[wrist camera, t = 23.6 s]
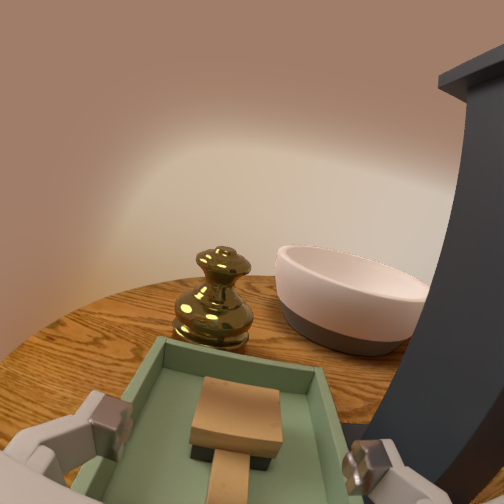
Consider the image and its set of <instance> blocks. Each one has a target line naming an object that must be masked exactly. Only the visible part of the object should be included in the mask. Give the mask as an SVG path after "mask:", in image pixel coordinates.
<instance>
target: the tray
mask: <svg viewBox="0 0 504 504" xmlns="http://www.w3.org/2000/svg"><path fill="white" fill-rule="evenodd" d="M205 376H207V377H212V378H216V379H221V380H226V381H231V382H236V383H241V384H246V385H252V386H257V387H263V388H269V389H276V390H279V394H280V407H281V421H282V434H283V443H282V446H281V448H280V450H279V452H278V455H277V457H276V459H274V458H272V460H271V462H270V464H269V466H268V469H267V471H260V470H252V469H250V472H249V494H248V504H364V502H363V498H362V495H361V496H348V493H347V489H346V485H345V483H346V481H347V478H346V477H345V476H344V475H343V473H342V461H343V458H344V457H345V455H346V453H348V452H349V450H348V447H347V444H346V440H345V437H344V434H343V431H342V427H341V424H340V421H339V418H338V415H337V411H336V408H335V405H334V402H333V399H332V396H331V392H330V389H329V386H328V383H327V380H326V377H325V374H324V371H323V368H321V367H313V366H306V365H299V364H293V363H286V362H280V361H274V360H268V359H262V358H257V357H251V356H246V355H241V354H236V353H231V352H226V351H221V350H217V349H212V348H208V347H203V346H199V345H194V344H190V343H186V342H182V341H178V340H174V339H170V338H168V339H167V338H166V337H162V336H158V337H157V339H156V340H155V342H154V344H153V345H152V347H151V349H150V350H149V352H148V354H147V355H146V357H145V359H144V360H143V362H142V363H141V365H140V367H139V368H138V370H137V372H136V373H135V375H134V377H133V378H132V380H131V382H130V384H129V385H128V387H127V389H126V390H125V392H124V394H123V395H122V397H121V400H124V401H127V402H129V403H132V404H133V412H132V414H131V417H132V418H133V429H132V433H131V437H130V439H129V441H128V442H127V443H125V444H124V452H123V454H122V457H121V459H120V461H119V463H118V462H115V461H112V460H109V459H106V458H103V457H101V456H98V455H97V456H96V457H95V458H93V459H91V460H89V461H88V462H86V463H84V464H83V466H82V468H81V469H80V471H79V473H78V475H77V477H76V479H75V480H74V482H73V484H72V486H71V488H70V489H71V490H73V491H76V492H78V493H80V494H83V495H85V496H87V497H90V498H92V499H95V500H97V501H100V502H102V503H105V504H205V499H206V493H207V487H208V481H209V475H210V469H211V464H212V463H210V462H205V461H200V460H196V459H191V458H190V454H191V448H192V445H191V444H189V437H190V431H191V425H192V421H193V418H194V414H195V410H196V407H197V403H198V400H199V396H200V392H201V389H202V385H203V382H204V378H205Z"/></svg>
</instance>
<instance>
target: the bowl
mask: <svg viewBox="0 0 504 504" xmlns="http://www.w3.org/2000/svg"><path fill="white" fill-rule="evenodd" d="M275 278H276V286H277V295H278V297H279V300H280V304H281V307H282V310H283V314H284V317H285V319H286V321H287V322H288V323H289V324H290V326H291V327H292V328H294V329H295V330H296V331H297V332H299V333H300V334H301V335H303V336H305V337H306V338H308V339H310V340H312V341H314V342H316V343H318V344H320V345H322V346H325V347H328V348H331V349H333V350H336V351H340V352H344V353H348V354H354V355H361V356H377V355H384V354H387V353H390V352H391V351H393V350H394V349H395V348H396V347H398V346H399V345H400V344H401V343H403V342H404V341H405V340H406V339H408V338H409V337H410V336H412V335H413V332H414V330H415V327H416V325H417V322H418V320H419V317H420V314H421V312H422V309H423V306H424V303H425V301H426V298H427V295H428V292H429V289H430V287H429V286H427V285H426V284H425V283H423V282H422V281H420V280H418V279H417V278H415V277H413V276H411V275H409V274H407V273H405V272H402V271H400V270H398V269H395V268H393V267H390V266H388V265H385V264H382V263H379V262H376V261H374V260H370V259H367V258H364V257H361V256H357V255H353V254H350V253H345V252H341V251H337V250H332V249H327V248H322V247H316V246H307V245H286V246H282V247H280V248H279V249H278V251H277V258H276V266H275Z"/></svg>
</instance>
